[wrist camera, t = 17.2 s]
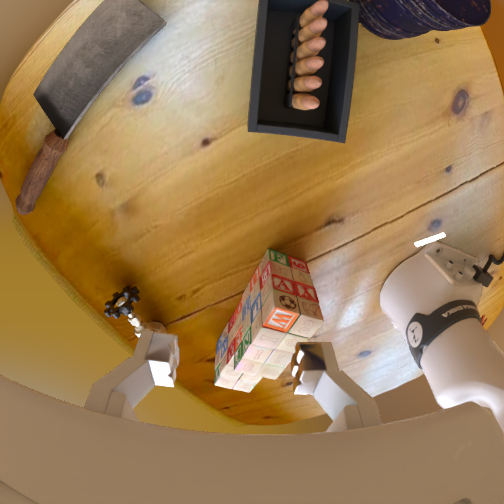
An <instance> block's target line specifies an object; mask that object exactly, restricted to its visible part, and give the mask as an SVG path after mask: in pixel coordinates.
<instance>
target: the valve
mask: <svg viewBox="0 0 504 504" xmlns="http://www.w3.org/2000/svg"><path fill="white" fill-rule="evenodd" d="M138 293H139V290H138V289H137V287H136V286H134V287H132V288H131V290H130V288H129V287H128V286H126V287H125V288H124V289H123V292H121V293H118V292H115V293H114V294H113V300H112V301H107V302H106V303H105V306H106V307H107V309H106V310H105V311H104V313H105V314H106V316H107V317H111V315H110V313H111V314H112V315H113V316H114V318H115V319H117V318H119V317H120V315H121V314H124V315H125V316H127V315H128V316H129V317H128V320H129V322H130V323H131V324H132V325H134V326H135V329H134V333H135V334H136V335H137V337H138V338H139V337H140V335H141V332H142V331H143V330H150V331H157V332H164V333H167V330H166V328H165V327H164V325H163V324H162V323H159V322H153V321H151V322H150V323H148V322H147V321H141V318H140V316H139V315H138V313H135V312H134V313H133V310H134V308H133V306H132V305H131V303H132V301H133V300H134V301H135V302H138V301H139V300H140V297H139V296H138V295H137V294H138ZM124 296H125V297H126V298H125V297H124ZM116 302H117V303H116ZM115 304H117V305H118V307H116V308H114V305H115Z"/></svg>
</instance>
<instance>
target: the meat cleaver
mask: <svg viewBox="0 0 504 504" xmlns="http://www.w3.org/2000/svg"><path fill="white" fill-rule="evenodd" d="M165 25H166V21H165V20H163V19H162V18H161V17H160V16H158V15H157V14H156V13H155V12H153V11H152V10H151V9H149V8H148V7H147V6H145V5H144V4H143V3H142V2H140V1H139V0H104V1H103V2H102V3H101V4H100V5H99V6H98V7H97V8H96V10H95V11H94V12H93V13H92V14H91V15H90V16H89V17H88V18H87V20H86V21H85V22H84V23H83V24H82V25H81V27H80V28H79V29H78V30H77V32H76V33H75V34H74V35H73V37H72V38H71V39H70V40H69V42H68V43H67V44H66V46H65V47H64V48H63V50H62V51H61V52H60V54H59V55H58V57H57V58H56V60H55V61H54V62H53V64H52V65H51V67H50V68H49V70H48V71H47V73H46V75H45V76H44V78H43V79H42V81H41V82H40V84H39V86H38V87H37V89H36V91H35V93H34V94H33V95H34V96H35V98H36V100H37V101H38V103H39V104H40V106H41V107H42V109H43V110H44V112H45V113H46V115H47V116H48V118H49V119H50V121H51V122H52V124H53V125H54V127H55V128H56V129H55V130H54V131H52V132H51V133H49V134H48V135H47V136H46V137H45V140H44V143H43V147H42V148H41V150H40V151H39V152H38V154H37V156H36V158H35V159H34V162H33V164H32V166H31V168H30V170H29V172H28V174H27V176H26V178H25V181H24V183H23V185H22V189H21V194H20V195H19V196H18V197H17V198H16V208H17V211H18V212H19V213H20V214H22V215H26V214H28V213H30V212H31V211H33V210H34V208H35V201H36V199H37V198H38V197H39V196H40V194H41V192H42V190H43V188H44V186H45V184H46V183H47V181H48V179H49V177H50V175H51V173H52V171H53V170H54V168H55V166H56V164H57V161H58V159H59V156H60V155H61V154H62V153H64V152H65V151H66V150H67V145H68V137H69V135H70V134H71V132H72V131H73V129H74V128H75V126H76V125H77V123H78V122H79V121H80V119H81V118H82V116H83V115H84V114H85V112H86V111H87V110H88V108H89V107H90V106H91V104H92V103H93V102H94V101H95V99H96V98H97V97H98V95H99V94H100V93H101V92H102V91H103V89H104V88H105V87H106V86H107V84H108V83H109V82H110V81H111V80H112V79H113V77H114V76H115V75H116V74H117V73H118V72H119V71H120V70H121V68H122V67H123V66H124V65H125V64H126V63H127V62H128V61H129V60H130V59H131V58H132V57H133V56H134V55H135V54H136V53H137V52H138V51H139V50H140V49H141V48H142V47H143V46H144V45H145V44H146V43H147V42H148V41H149V40H150V39H151V38H152V37H153V36H154V35H155V34H156V33H157V32H158V31H160V30H161V29H162V28H163V27H164V26H165Z"/></svg>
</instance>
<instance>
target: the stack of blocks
mask: <svg viewBox="0 0 504 504" xmlns="http://www.w3.org/2000/svg"><path fill="white" fill-rule="evenodd" d="M323 322H324V320H323V316H322V313H321V309H320V306H319V300H318V297H317V294H316V291H315V288H314V286H313V283H312V280H311V277H310V272H309V269H308V266H307V263H306V262H304V261H302V260H299V259H296V258H294V257H291V256H287V255H285V254H282V253H280V252H277V251H274V250H272V249H269V248H268V249H267V251H266V253H265V255H264V256H263V258H262V260H261V262H260V264H259V265H258V266H257V268H256V270H255V272H254V274H253V276H252V278H251V280H250V282H249V283H248V285H247V287H246V289H245V291H244V293H243V295H242V298H241V300H240V302H239V303H238V305H237V307H236V310H235V312H234V313H233V315H232V317H231V319H230V321H229V322H228V323H227V325H226V327H225V329H224V331H223V333H222V335H221V336H220V338H219V340H218V342H217V349H216V359H215V380H214V385H216V386H221V387H225V388H229V389H235V390H240V391H245V392H250V391H251V390H252V389H253V388H254V387H255V385H256V384H257V383H258V382H259V381H260V380H261V378H262V377H265V378H270V379H276V378H277V377H278V376H279V375H280V374H281V373H282V372H283V370H284V369H285V367H286V366H287V365H288V364H289V363H290V361H291V359H292V355H293V354H294V353H295V346H296V343H297V342H307V341H308V340H309V338H311V337H312V336H313V335H314V333H315V332H316V331H317V330H318V328H319V327H320V326H321V325H322V323H323Z"/></svg>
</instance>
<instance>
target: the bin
mask: <svg viewBox="0 0 504 504" xmlns="http://www.w3.org/2000/svg"><path fill="white" fill-rule="evenodd" d="M317 1H320V0H259V4H258V13H257V24H256V34H255V45H254V56H253V67H252V78H251V90H250V102H249V114H248V132H258V133H270V134H280V135H290V136H298V137H306V138H313V139H320V140H327V141H333V142H339V143H345V140H346V134H347V127H348V120H349V113H350V105H351V98H352V89H353V81H354V71H355V61H356V50H357V37H358V22H359V4H358V3H355V2H351V1H347V0H327V1H328V9H327V10H326V12H325V13H324V15H323V16H322V18H325V19H326V20H327V26H326V28H325V29H324V30H323V31H322V33H321V35H320V36H319V37H323V38H324V39H325V40H326V44H325V46H324V47H323V48H322V49H321V50H320V51H319V53H318V54H317V55H316V56H319V57H321V58H323V60H324V64H323V66H322V67H321V68H319V69H318V70H317V71H316V72H315V73H312V76H317V77H319V78H320V79H321V80H322V84H321V86H320V87H319V88H317V89H314V90H313V91H311V92H310V95H311V96H314V97H316V98H317V99H318V100H319V106H318V107H317V108H315V109H309V110H301V109H294V108H286V107H284V106H283V104H284V94H285V84H286V74H287V63H288V53H289V42H290V30H291V23H292V22H293V21H294V19H295V18H296V17H297V16H298V14H303V13H304V11H305V10H306V9H308V8H310V7H311V6H312V5H313V4H314V3H316V2H317ZM303 93H307V92H303Z"/></svg>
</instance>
